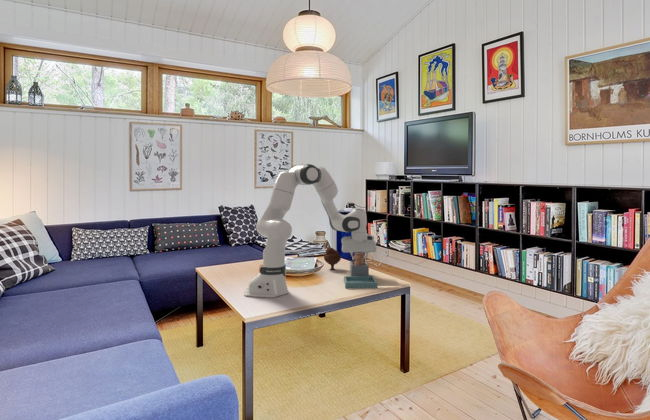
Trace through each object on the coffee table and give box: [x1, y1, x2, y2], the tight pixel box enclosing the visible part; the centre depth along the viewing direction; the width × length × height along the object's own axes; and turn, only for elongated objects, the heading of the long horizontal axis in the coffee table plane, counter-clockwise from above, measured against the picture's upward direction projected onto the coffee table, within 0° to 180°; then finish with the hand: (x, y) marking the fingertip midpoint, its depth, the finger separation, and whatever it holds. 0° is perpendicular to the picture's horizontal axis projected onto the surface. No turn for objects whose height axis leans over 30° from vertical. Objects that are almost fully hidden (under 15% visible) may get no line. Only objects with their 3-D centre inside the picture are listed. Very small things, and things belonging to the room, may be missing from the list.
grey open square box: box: [349, 261, 370, 276], centre depth 232 cm, size 10×10×8 cm
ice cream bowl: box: [323, 247, 342, 271], centre depth 248 cm, size 11×11×15 cm
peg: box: [354, 252, 364, 265], centre depth 231 cm, size 5×5×13 cm
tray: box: [343, 275, 378, 289], centre depth 218 cm, size 17×14×3 cm
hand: (358, 259), depth 231 cm, fingers closed on peg, 5 cm apart
